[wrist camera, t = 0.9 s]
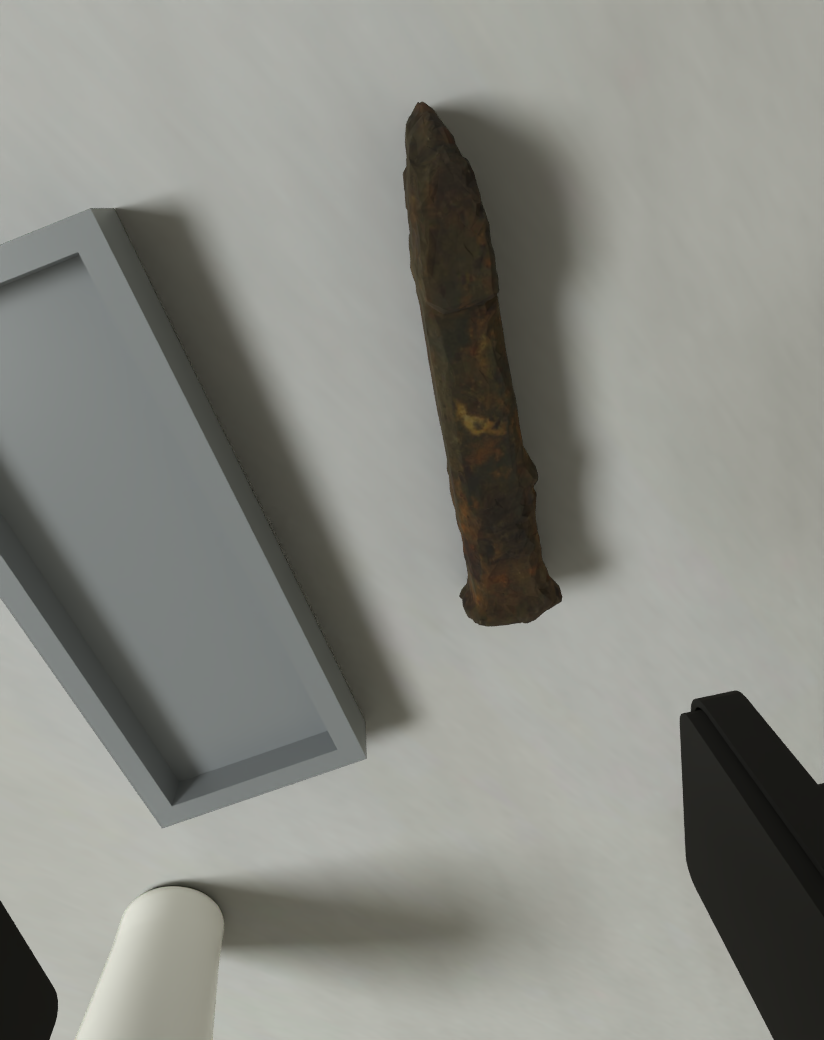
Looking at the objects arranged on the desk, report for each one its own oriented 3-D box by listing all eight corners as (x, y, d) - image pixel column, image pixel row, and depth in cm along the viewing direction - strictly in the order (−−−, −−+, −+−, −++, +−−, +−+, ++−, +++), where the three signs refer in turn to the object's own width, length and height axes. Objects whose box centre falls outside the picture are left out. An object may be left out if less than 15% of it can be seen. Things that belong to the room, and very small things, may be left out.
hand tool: (544, 574, 32) (575, 629, 28) (457, 592, 32) (475, 649, 28) (493, 97, 25) (526, 74, 20) (379, 118, 25) (388, 99, 20)
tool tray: (114, 208, 25) (90, 208, 22) (365, 721, 34) (366, 758, 32) (-145, 311, 25) (-193, 322, 23) (174, 787, 35) (161, 828, 33)
